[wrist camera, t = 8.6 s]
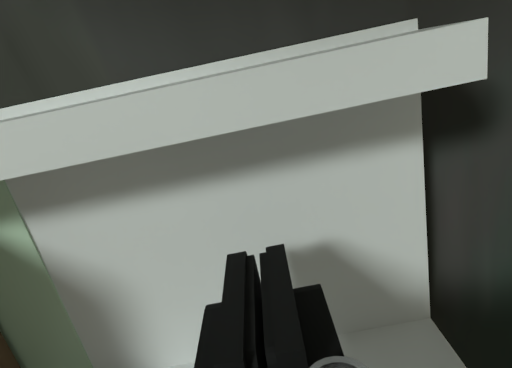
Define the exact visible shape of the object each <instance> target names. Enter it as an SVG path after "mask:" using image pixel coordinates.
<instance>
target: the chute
mask: <svg viewBox="0 0 512 368" xmlns="http://www.w3.org/2000/svg"><path fill="white" fill-rule="evenodd" d="M487 57H488V17H487V18H482V19H476V20H470V21H464V22H459V23H453V24H447V25H442V26H436V27H430V28H425V29H419V30H418V19H417V18H416V19H411V20H407V21H402V22H397V23H393V24H388V25H384V26H379V27H375V28H370V29H365V30H361V31H356V32H352V33H347V34H342V35H338V36H333V37H329V38H324V39H319V40H315V41H310V42H306V43H301V44H296V45H292V46H287V47H283V48H278V49H273V50H269V51H264V52H260V53H255V54H250V55H246V56H241V57H237V58H232V59H227V60H223V61H218V62H214V63H209V64H204V65H200V66H195V67H191V68H186V69H181V70H177V71H172V72H168V73H163V74H158V75H154V76H149V77H145V78H140V79H135V80H131V81H126V82H122V83H117V84H112V85H108V86H103V87H99V88H94V89H89V90H85V91H80V92H76V93H71V94H66V95H62V96H57V97H53V98H48V99H43V100H39V101H34V102H30V103H25V104H21V105H16V106H11V107H7V108H2V109H0V332H1V334H2V336H3V337H4V339H5V341H6V343H7V344H8V346H9V348H10V350H11V352H12V353H13V355H14V357H15V359H16V360H17V362H18V364H19V366H20V367H21V368H194V364H195V359H196V353H197V348H198V342H199V337H200V331H201V326H202V320H203V315H204V310H205V306H206V305H208V304H214V303H219V302H222V293H223V285H224V276H225V267H226V259H227V255H228V254H233V253H238V252H243V251H246V252H247V255H248V256H249V255H254V256H255V260H256V264H257V269H258V273H259V277H260V281H261V276H260V258H259V253H264V252H266V247H269V246H274V245H279V244H284V247H285V252H286V257H287V261H288V266H289V271H290V276H291V281H292V286H293V289H294V288H299V287H304V286H310V285H315V284H321V287H322V290H323V293H324V296H325V299H326V302H327V305H328V308H329V311H330V314H331V317H332V320H333V323H334V326H335V329H336V332H337V335H338V338H339V342H340V345H341V348H342V351H343V354H344V357H350V358H352V359H355V360H358V361H360V362H361V363H363V364H364V365H366V366H367V367H368V368H466V366H465V365H464V363H463V362H462V361H461V359H460V358H459V357H458V355H457V354H456V352H455V351H454V350H453V348H452V347H451V345H450V344H449V343H448V341H447V340H446V339H445V337H444V336H443V334H442V333H441V332H440V330H439V329H438V328H437V326H436V325H435V323H434V322H433V321H432V319H431V318H430V296H429V273H428V250H427V227H426V204H425V181H424V157H423V134H422V111H421V92H425V91H430V90H435V89H439V88H444V87H449V86H454V85H458V84H463V83H468V82H473V81H478V80H482V79H487Z"/></svg>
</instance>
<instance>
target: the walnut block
mask: <svg viewBox="0 0 512 368" xmlns="http://www.w3.org/2000/svg"><path fill="white" fill-rule="evenodd" d="M0 368H21V367H20V366H19V364H18V362H17V360H16V359H15V357H14V355H13V353H12V352H11V350H10V348H9V346H8V344H7V343H6V341H5V339H4V337H3V336H2V334H1V332H0Z"/></svg>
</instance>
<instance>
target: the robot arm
mask: <svg viewBox="0 0 512 368" xmlns="http://www.w3.org/2000/svg"><path fill="white" fill-rule="evenodd" d="M259 258H260V276H261V281H260V277H259V273H258V269H257V264H256V260H255V256H254V255H249V256H248V255H247V252H246V251H243V252H238V253H233V254H228V255H227V259H226V267H225V276H224V285H223V293H222V302H219V303H214V304H208V305H206V306H205V310H204V315H203V320H202V326H201V331H200V337H199V342H198V348H197V353H196V359H195V364H194V368H368V367H367V366H366V365H364V364H363V363H361V362H360V361H358V360H355V359H352V358H350V357H344V354H343V351H342V348H341V345H340V342H339V338H338V335H337V332H336V329H335V326H334V323H333V320H332V317H331V314H330V311H329V308H328V305H327V302H326V299H325V296H324V293H323V290H322V287H321V284H315V285H310V286H304V287H299V288H294V289H293V286H292V281H291V276H290V271H289V266H288V261H287V257H286V252H285V247H284V244H279V245H274V246H269V247H266V252H264V253H259Z"/></svg>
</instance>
